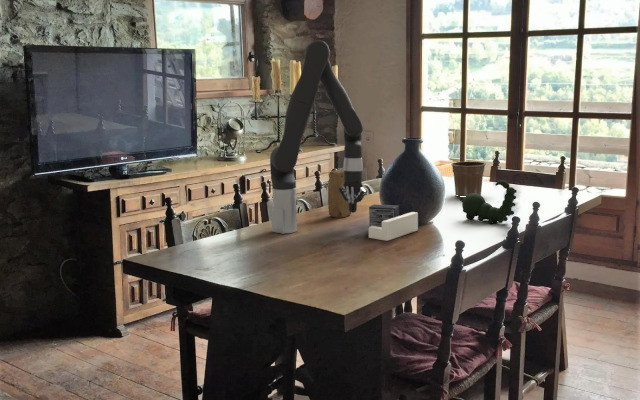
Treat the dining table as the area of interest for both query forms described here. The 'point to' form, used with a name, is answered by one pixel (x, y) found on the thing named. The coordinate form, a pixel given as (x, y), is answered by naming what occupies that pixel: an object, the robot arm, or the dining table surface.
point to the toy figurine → (489, 206)
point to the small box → (382, 213)
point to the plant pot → (468, 177)
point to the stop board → (395, 227)
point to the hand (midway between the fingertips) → (352, 212)
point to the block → (337, 195)
